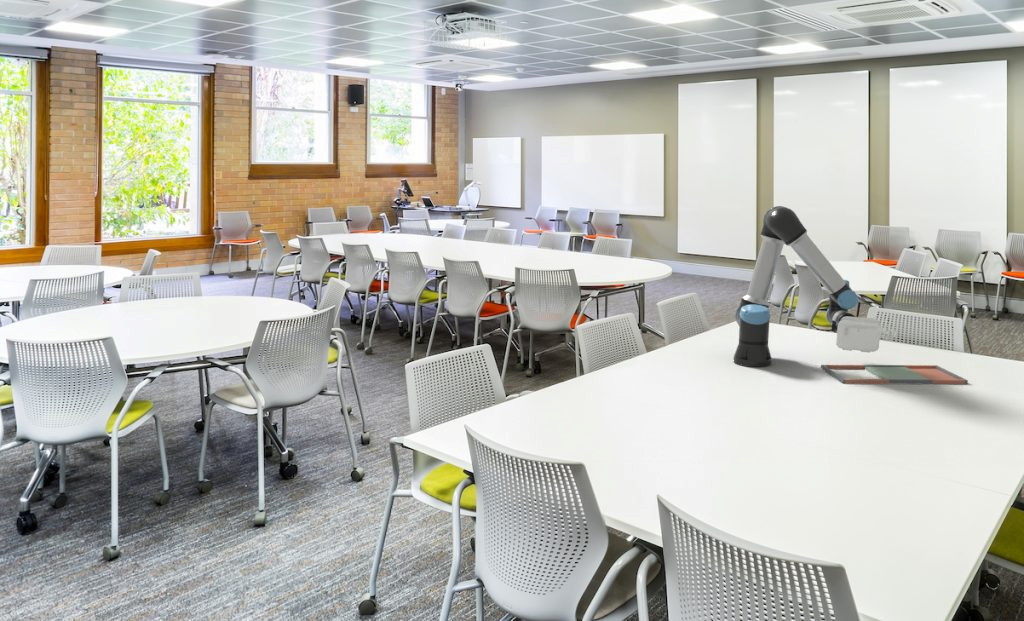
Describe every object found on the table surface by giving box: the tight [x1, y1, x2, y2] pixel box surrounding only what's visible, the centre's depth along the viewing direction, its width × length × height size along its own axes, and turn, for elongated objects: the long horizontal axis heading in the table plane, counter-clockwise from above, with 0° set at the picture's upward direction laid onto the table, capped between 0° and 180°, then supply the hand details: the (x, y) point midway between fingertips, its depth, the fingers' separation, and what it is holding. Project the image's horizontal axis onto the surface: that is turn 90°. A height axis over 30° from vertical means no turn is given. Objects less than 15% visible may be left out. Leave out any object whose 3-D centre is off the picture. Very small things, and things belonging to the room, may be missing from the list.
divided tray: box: [820, 364, 969, 385], centre depth 306 cm, size 46×23×1 cm, turn 89°
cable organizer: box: [835, 316, 881, 354], centre depth 304 cm, size 15×11×12 cm
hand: (862, 332), depth 299 cm, fingers closed on cable organizer, 11 cm apart
